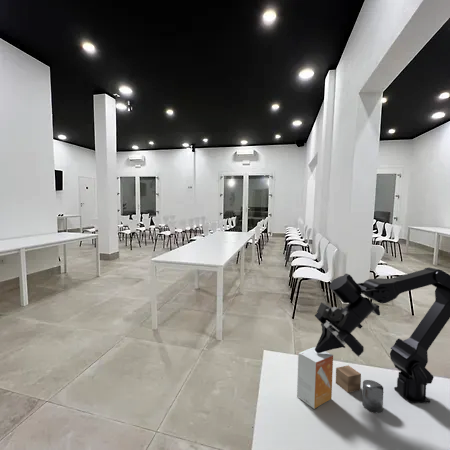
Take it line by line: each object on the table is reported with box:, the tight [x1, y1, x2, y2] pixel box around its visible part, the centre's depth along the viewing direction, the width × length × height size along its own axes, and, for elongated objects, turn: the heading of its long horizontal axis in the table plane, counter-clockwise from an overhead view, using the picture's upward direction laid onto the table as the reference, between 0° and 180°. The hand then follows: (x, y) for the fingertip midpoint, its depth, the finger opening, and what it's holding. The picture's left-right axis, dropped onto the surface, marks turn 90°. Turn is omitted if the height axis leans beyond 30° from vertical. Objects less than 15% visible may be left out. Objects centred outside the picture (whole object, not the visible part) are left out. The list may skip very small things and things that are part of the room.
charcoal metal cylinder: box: [361, 379, 384, 414], centre depth 72 cm, size 5×5×6 cm
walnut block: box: [335, 364, 362, 394], centre depth 81 cm, size 5×5×5 cm
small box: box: [296, 346, 334, 410], centre depth 75 cm, size 8×6×13 cm
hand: (316, 351), depth 75 cm, fingers closed
